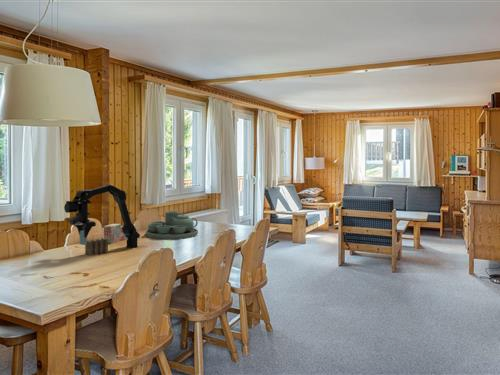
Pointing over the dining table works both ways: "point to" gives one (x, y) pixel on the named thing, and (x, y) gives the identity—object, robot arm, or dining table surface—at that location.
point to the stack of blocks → (114, 233)
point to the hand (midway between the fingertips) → (83, 236)
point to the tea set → (173, 227)
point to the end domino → (83, 238)
